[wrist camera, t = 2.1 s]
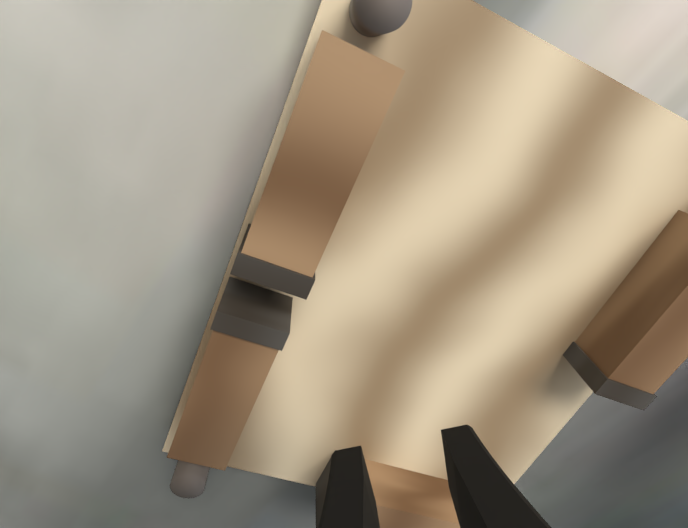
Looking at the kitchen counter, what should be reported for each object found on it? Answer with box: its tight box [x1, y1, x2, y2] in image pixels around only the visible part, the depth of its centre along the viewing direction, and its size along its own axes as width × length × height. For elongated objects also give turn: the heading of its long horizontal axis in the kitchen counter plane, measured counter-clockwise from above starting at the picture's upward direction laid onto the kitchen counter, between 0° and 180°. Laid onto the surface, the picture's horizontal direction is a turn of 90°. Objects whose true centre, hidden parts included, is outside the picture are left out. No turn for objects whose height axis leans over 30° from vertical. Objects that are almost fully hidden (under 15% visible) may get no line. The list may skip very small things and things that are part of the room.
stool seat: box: [162, 0, 688, 528], centre depth 18 cm, size 18×22×4 cm
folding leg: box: [230, 30, 405, 300], centre depth 14 cm, size 8×3×3 cm, turn 157°
